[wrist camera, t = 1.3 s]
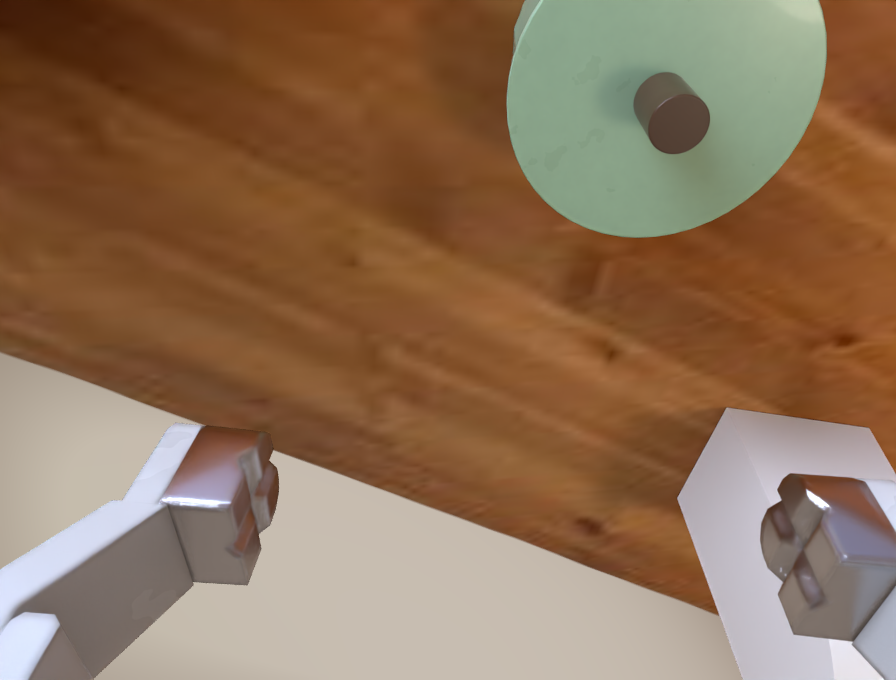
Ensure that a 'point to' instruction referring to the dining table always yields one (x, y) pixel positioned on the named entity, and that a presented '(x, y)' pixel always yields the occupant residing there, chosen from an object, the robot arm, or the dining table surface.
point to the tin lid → (661, 105)
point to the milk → (739, 525)
